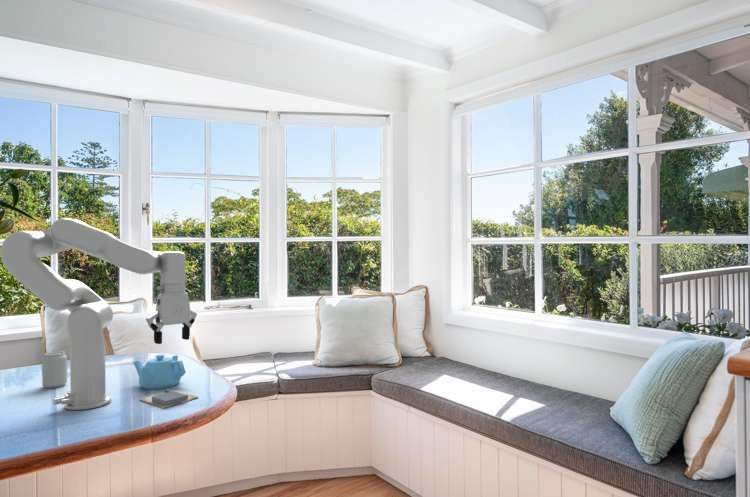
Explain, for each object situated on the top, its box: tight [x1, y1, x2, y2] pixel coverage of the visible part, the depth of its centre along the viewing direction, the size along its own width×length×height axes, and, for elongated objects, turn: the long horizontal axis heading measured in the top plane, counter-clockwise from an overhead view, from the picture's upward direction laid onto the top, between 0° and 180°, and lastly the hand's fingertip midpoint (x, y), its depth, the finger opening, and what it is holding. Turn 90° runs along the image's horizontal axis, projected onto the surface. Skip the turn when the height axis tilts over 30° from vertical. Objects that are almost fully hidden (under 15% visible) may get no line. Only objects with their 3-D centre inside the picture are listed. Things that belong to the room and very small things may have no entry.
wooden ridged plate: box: [139, 388, 199, 409], centre depth 156 cm, size 12×14×2 cm
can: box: [41, 350, 68, 389], centre depth 174 cm, size 8×8×12 cm
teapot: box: [133, 354, 186, 390], centre depth 173 cm, size 15×15×11 cm
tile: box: [151, 391, 186, 406], centre depth 153 cm, size 2×8×7 cm
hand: (172, 341), depth 158 cm, fingers open, 9 cm apart
